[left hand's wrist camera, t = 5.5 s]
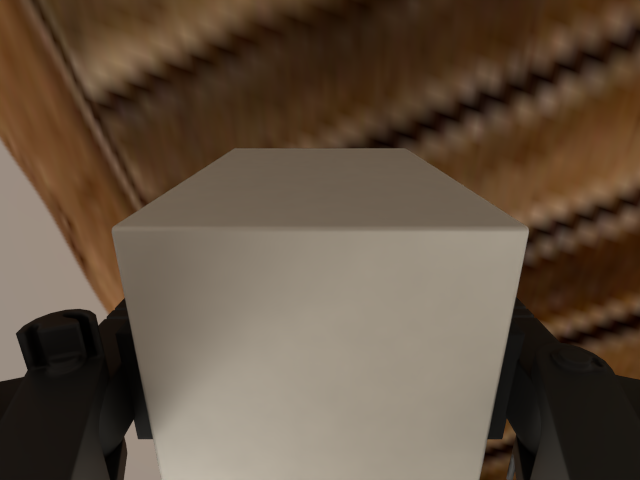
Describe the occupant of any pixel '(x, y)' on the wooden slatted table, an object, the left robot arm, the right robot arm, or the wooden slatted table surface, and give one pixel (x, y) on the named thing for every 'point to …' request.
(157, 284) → the block
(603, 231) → the wooden slatted table surface
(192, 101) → the wooden slatted table surface
